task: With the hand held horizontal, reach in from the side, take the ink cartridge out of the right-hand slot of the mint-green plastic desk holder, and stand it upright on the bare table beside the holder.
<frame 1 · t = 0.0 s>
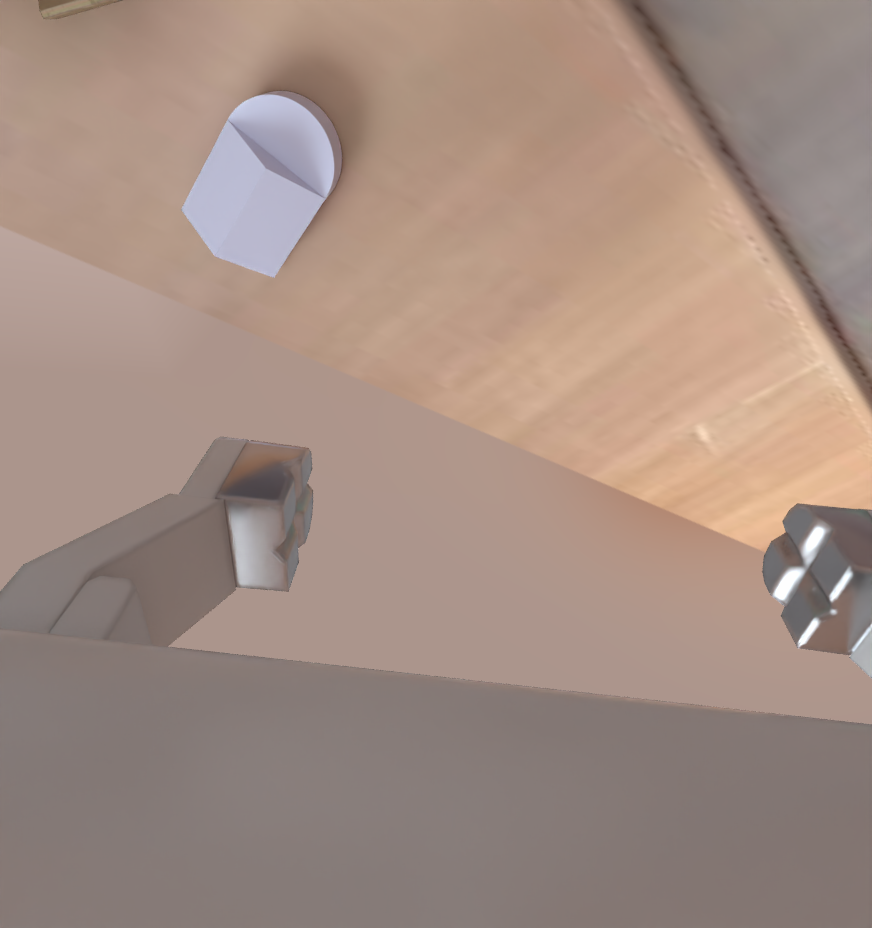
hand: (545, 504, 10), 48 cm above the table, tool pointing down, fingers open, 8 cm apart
wedge on round base: (277, 172, 53), on the table
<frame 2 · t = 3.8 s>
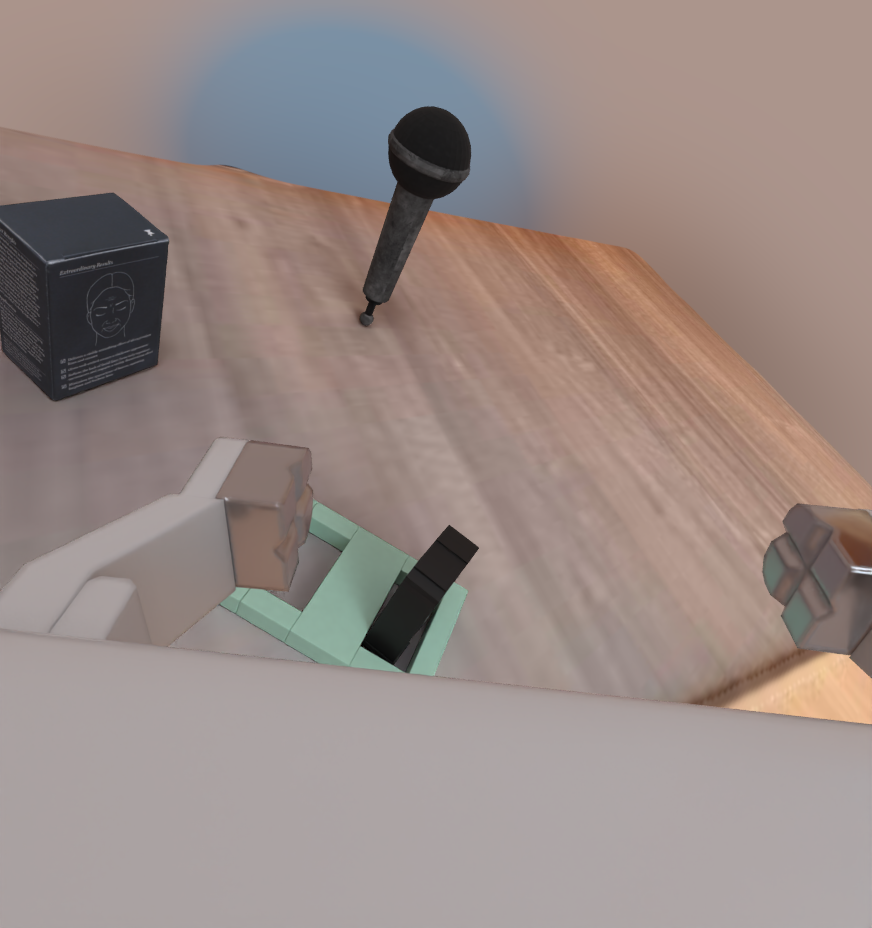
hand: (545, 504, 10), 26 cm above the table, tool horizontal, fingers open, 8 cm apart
ink cartridge: (395, 631, 38), resting in holder
box: (83, 362, 43), on the table
microphone: (363, 325, 59), on the table
holder: (340, 597, 38), on the table
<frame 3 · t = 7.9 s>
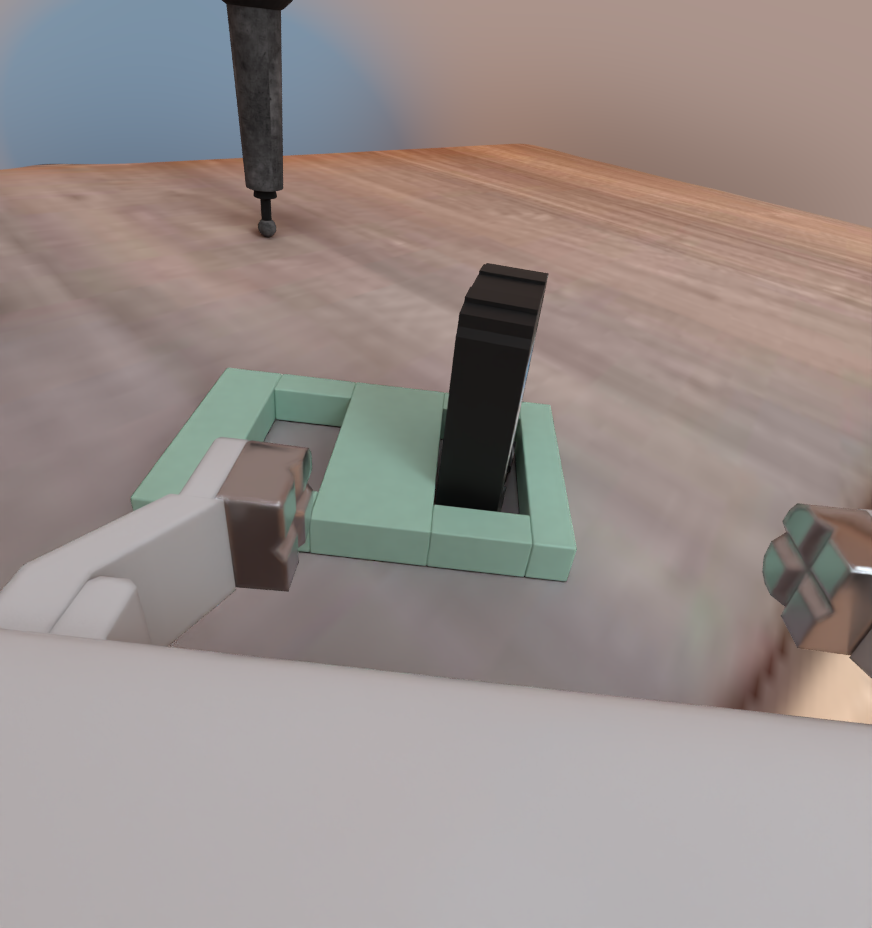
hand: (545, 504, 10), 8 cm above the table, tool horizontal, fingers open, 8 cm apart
ink cartridge: (475, 491, 24), resting in holder
microphone: (267, 239, 46), on the table
holder: (372, 475, 24), on the table
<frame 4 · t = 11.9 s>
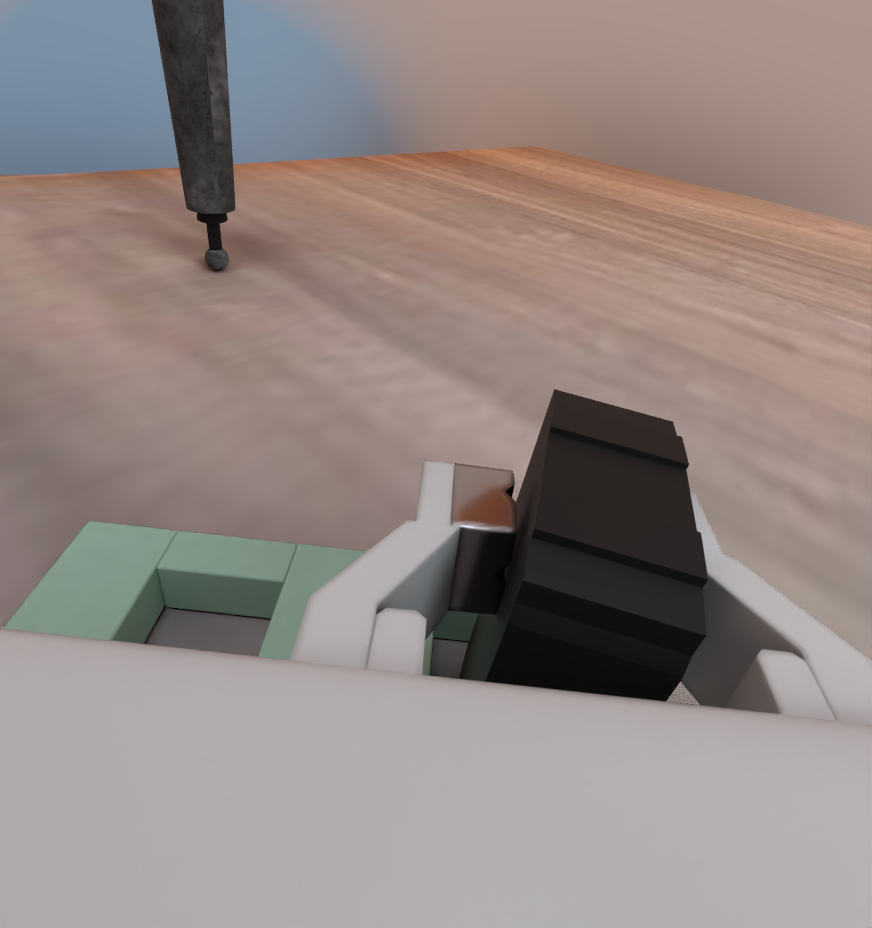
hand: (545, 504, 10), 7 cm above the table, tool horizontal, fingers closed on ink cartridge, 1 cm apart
ink cartridge: (491, 760, 14), resting in holder, touching gripper
microphone: (218, 272, 36), on the table
holder: (313, 739, 14), on the table
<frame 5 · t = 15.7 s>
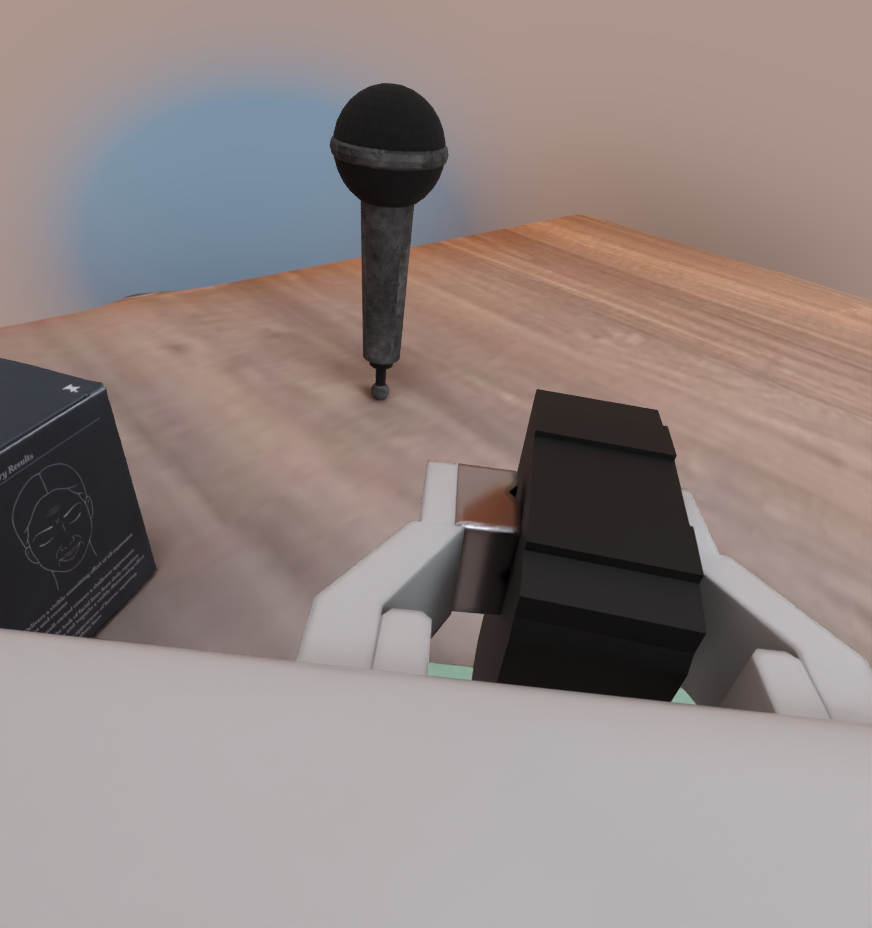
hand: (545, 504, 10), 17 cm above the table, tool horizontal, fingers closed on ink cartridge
ink cartridge: (511, 757, 14), point 10 cm above the table, touching gripper
box: (50, 615, 28), on the table
microphone: (379, 400, 46), on the table
holder: (597, 807, 23), on the table
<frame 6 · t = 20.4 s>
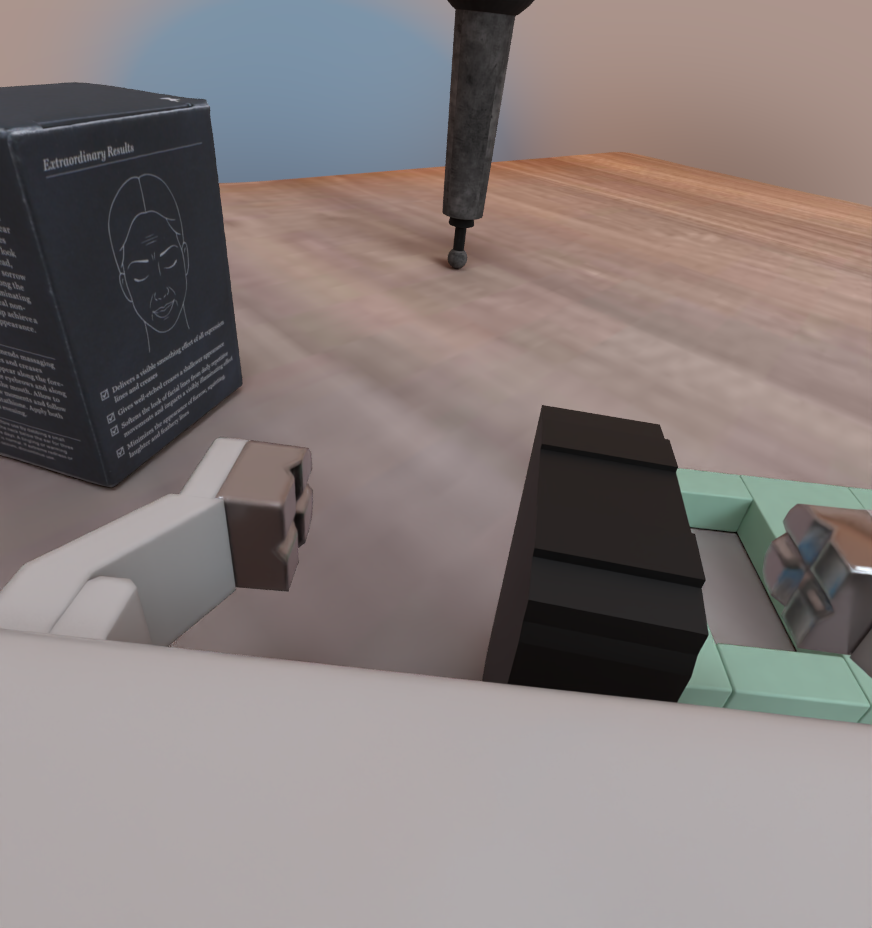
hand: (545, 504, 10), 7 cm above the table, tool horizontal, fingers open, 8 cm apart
ink cartridge: (520, 769, 14), on the table
box: (125, 421, 24), on the table
microphone: (456, 270, 41), on the table
holder: (816, 606, 19), on the table
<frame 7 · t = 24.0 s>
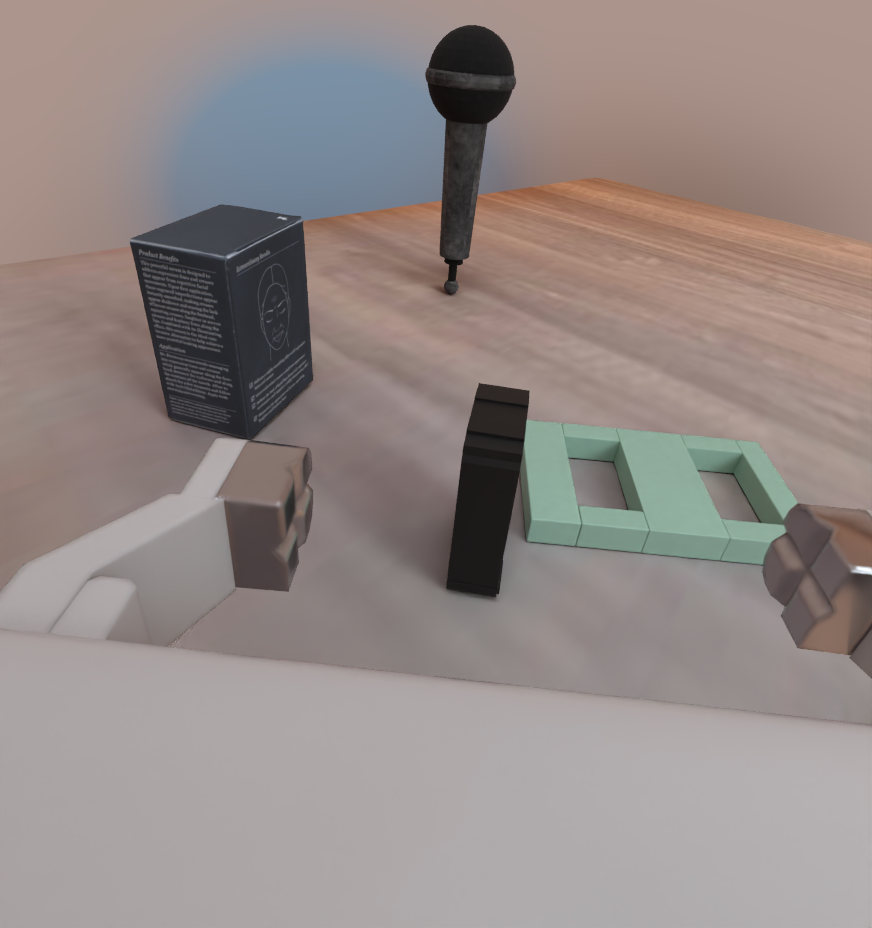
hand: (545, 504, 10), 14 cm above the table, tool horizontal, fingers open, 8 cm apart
ink cartridge: (477, 561, 29), on the table
box: (245, 403, 38), on the table
microphone: (450, 295, 56), on the table
holder: (649, 497, 33), on the table
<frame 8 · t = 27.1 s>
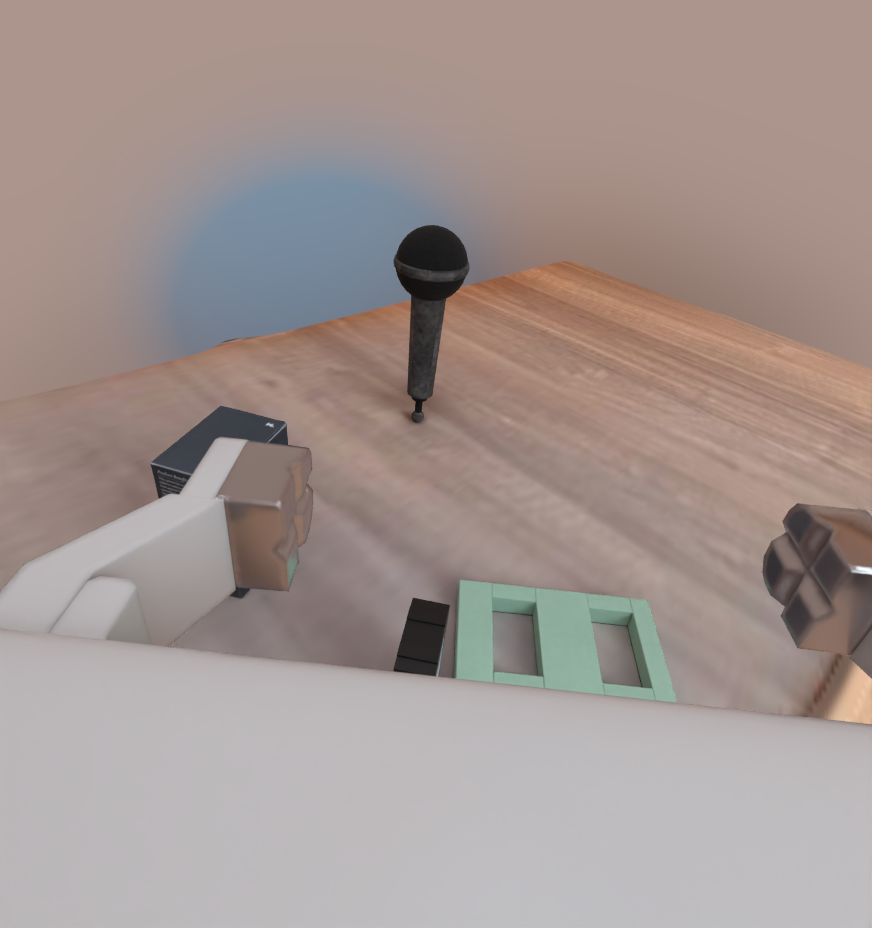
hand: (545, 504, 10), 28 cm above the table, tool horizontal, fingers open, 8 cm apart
ink cartridge: (413, 719, 38), on the table
box: (238, 555, 47), on the table
microphone: (417, 422, 65), on the table
holder: (555, 652, 42), on the table
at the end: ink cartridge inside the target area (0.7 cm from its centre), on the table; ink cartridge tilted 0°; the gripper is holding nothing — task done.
